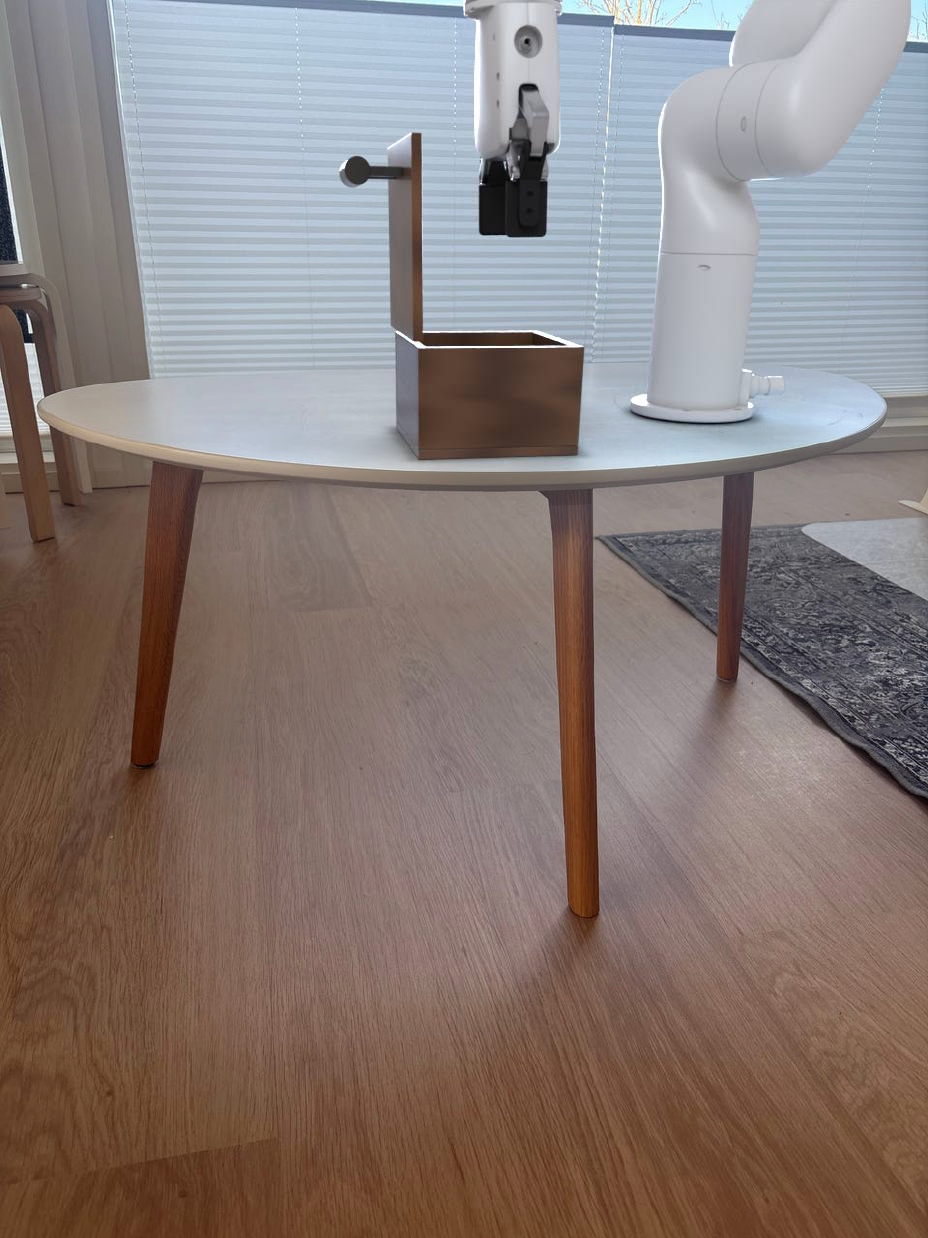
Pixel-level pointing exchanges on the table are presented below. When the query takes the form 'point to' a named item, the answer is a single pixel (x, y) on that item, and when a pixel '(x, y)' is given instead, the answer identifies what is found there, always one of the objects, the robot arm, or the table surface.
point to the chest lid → (400, 227)
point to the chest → (488, 394)
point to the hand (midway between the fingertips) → (510, 235)
